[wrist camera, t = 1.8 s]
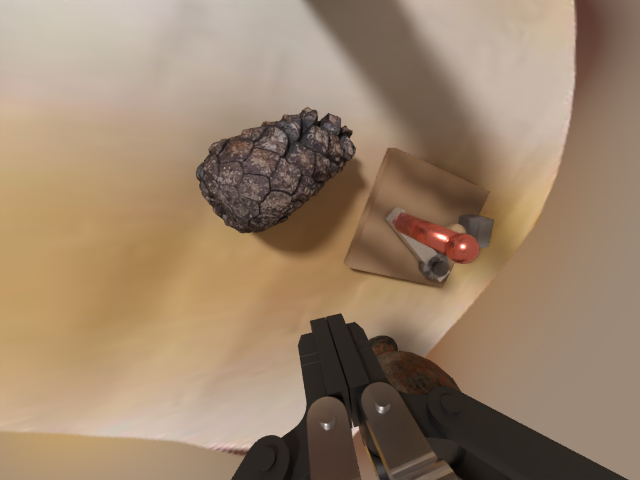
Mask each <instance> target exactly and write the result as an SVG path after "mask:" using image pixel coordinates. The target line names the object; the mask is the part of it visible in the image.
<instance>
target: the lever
mask: <svg viewBox="0 0 640 480" xmlns="http://www.w3.org/2000/svg"><path fill="white" fill-rule="evenodd" d="M385 220H386V221H387V222H388V223H389V225H390V226H391V227H392V228H393V229H394V231H395V232H396V233H397V234H398V236H399V237H400V238H401V239H402V240H403V242H404V243H405V244H406V245H407V247H408V248H409V249H410V250H411V251H412V253H413V254H414V255H415V256H416V258H417V259H418V260H419V265H418V267H419V270H420V272H421V273H423V274H424V275H426V276H427V277H429V278H431V279H436V280H438V281H439V282H441V281H442V280H443V279H444V278H445V277H446V276H447V275H448V274H449V273H450V270H449V271H448V273H447V274H446V275H445V276H443V277H439V276H437V275H436V274H434V273H433V267H434V265H435V264H436V263H437V262H439V261H444V262H445V263H447V264H449V260H448V258H449V259H450V260H452V261H453V262H455V263H459V264H466V263H470V262H472V261H474V260H475V259H476V258H477V256H478V255H479V252H480V246H479V243H478V241H477V240H476V239H475V238H474V237H473V236H471V235H469V234H464V233H458V232H455V231H453V230H450V229H447V228H445V227H442V226H439V225H437V224H434V223H431V222H429V221H426V220H423V219H421V218H418V217H416V216H413V215H410V214H408V213H406V212H405V210H404V209H401V208H398V207H395V209H394V210H393V211H392V212H391V213H390V214H389V215H388V216H387V217H386V218H385ZM447 257H448V258H447Z"/></svg>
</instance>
